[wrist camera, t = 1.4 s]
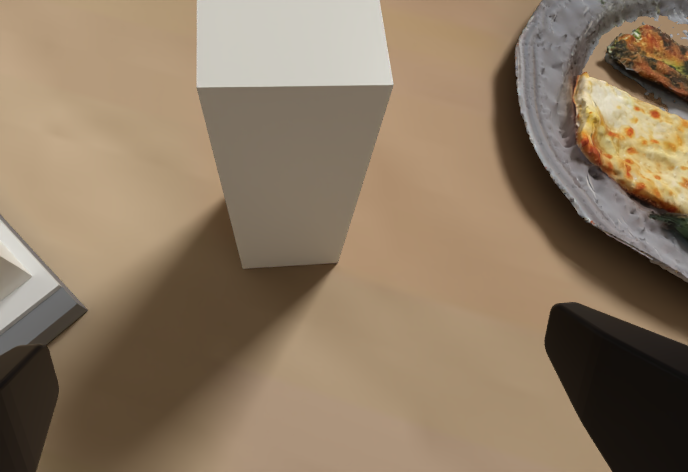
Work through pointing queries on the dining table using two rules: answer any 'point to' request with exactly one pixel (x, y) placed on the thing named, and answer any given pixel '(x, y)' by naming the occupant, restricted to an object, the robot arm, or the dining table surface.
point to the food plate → (612, 120)
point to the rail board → (30, 295)
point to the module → (292, 118)
